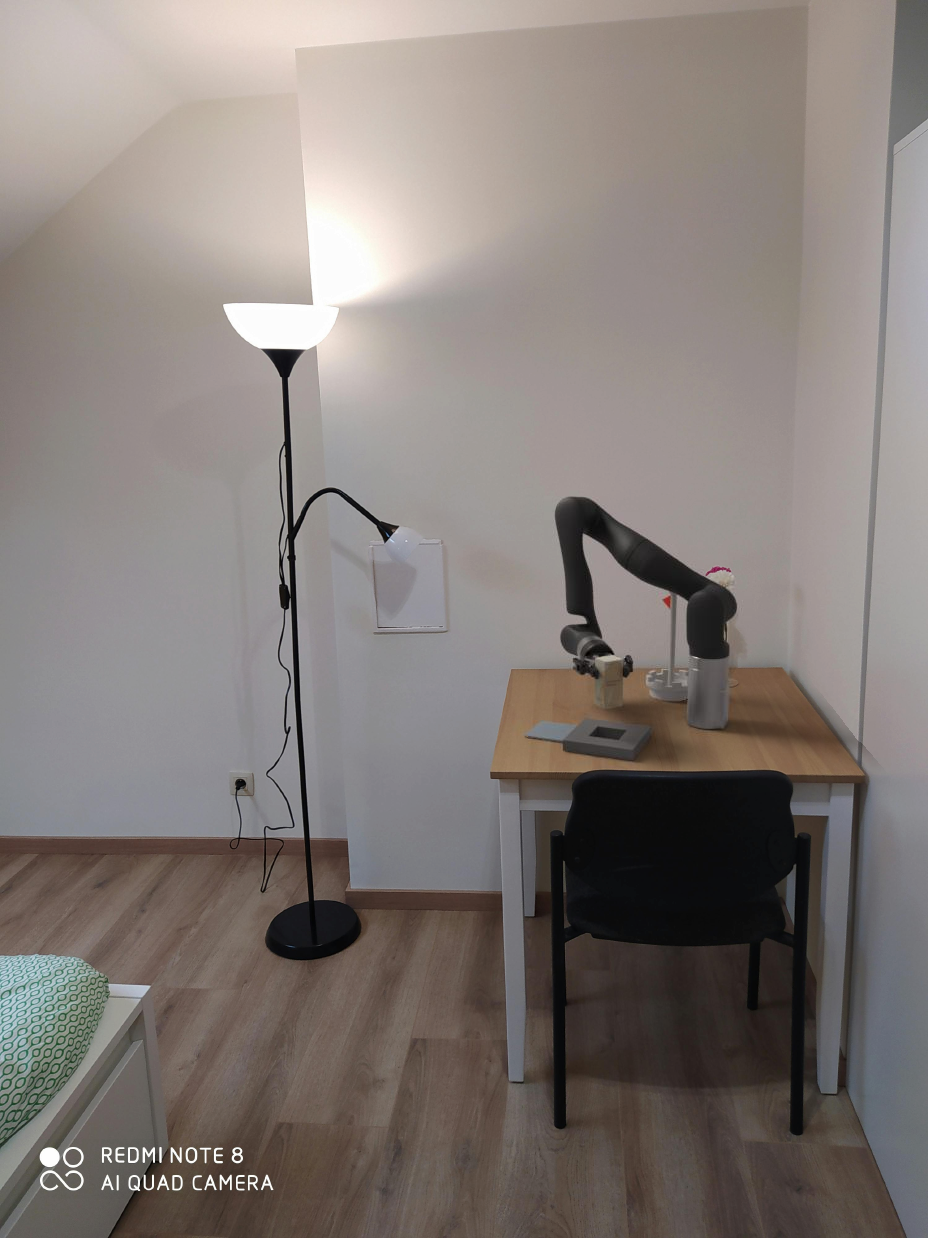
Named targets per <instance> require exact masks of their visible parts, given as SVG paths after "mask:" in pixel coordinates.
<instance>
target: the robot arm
mask: <svg viewBox="0 0 928 1238" xmlns="http://www.w3.org/2000/svg"><path fill="white" fill-rule="evenodd" d="M554 510H555V511H554V520H555V527H556V532H557V537H558V540H559V542H558V543H559V547H560V551H561V559H562V563H563V564H562V565H563V572H564V581H565V603H566V605H565V606H566V607H565V608H566V612H567V613H568V614H569V615H573V616H579V617H583V618H584V619H585V622H586V623H577V624H576V623H574V624H568V625H565V626H564V627H563V628H562V629H561V630H560V637H559V638H560V643H561V646H562V648H563V649H564V650H565V651H566V653H568V654H571V655H573V656H575V657H573V658H572V669H573V670H574V671H575V672H576V673H578V674H579V675H580V676H585V675H586V674H587V675H588V676H590V677H591V678H594V680H595V679H598V678H599V671H598V669H597V667H596V666H595V658H598V657H603V656H611V655H615V656H617V657H619V656H618V655H616V654H615V652H614V650H613V649H612V648H611V646H609V644H608V643H607V642H606V641H605V640H604V639H603V635H602V631H601V628H600V625H599V622H598V619H597V615H596V609H595V604H594V601H595V600H594V584H593V577H592V575H591V574H592V573H591V570H590V568H589V565H588V563H587V560H586V555H585V550H584V542H583V540H584V539H583V538H584V535H585V536H587V537H589V538H591V539H593V540H594V541H596V542H597V543H600V544H601V545H602V546H603V547H604V548H605V549H607V551H608V552H609V553H610V554H611V556H612V558H614V560H615V561H616V562H617V563H618V565H620V566H621V568H623V569H624V570H625V571H627V572H628V573H630V574H631V575H633V576H635V578H637V579H639V581H642V582H644V583H646V584H649V585H651V586H653V587H656V588H659V589H661V590H665V591H667V592H669V591H670V592H673V593H675V594H677V596H679V597H680V598H682V599H683V600H685V601H686V602H687V605H686V616H685V617H686V618H685V619H686V620H685V622H686V625H685V626H686V627H685V628H686V643H687V645H688V648H689V649H688V650H689V652H688V654H689V655H688V671H689V673H688V700H686V701H687V702H686V704H687V705H686V723H687V724H688V725H689V726H691V727H693V728H698V729H703V730H716V729H719V730H720V729H721V730H724V729H725V728H726V726H727V724H728V722H729V708H730V706H729V704H730V686H731V685H730V684H729V668H730V652H731V651H730V650H731V648H730V644H729V642H727V640H725V623H727V622H729V621H730V620H732V619H733V618H734V617H735V615H736V613H737V610H738V602H737V599H736V598H735V596H734V594H733V593H732V592H731V591H730V590H729V589H728V588H726V587H725V586H723V585H721V584H719V583H718V582H716V581H713V580H712V579H709V578H708V577H706V576H704V575H702V574H700V573H698V572H696V571H695V570H694V569H692V568H690V567H689V566H687V564H685V563H684V562H682V561H680V560H679V559H678V558H676V557H675V556H673V555H672V554H671V553H668V551H666V550H665V549H663V548H662V547H661V546H659V545H657V544H656V543H654V542H653V541H651V540H650V539H648V537H645V536H643V535H642V534H640V533H639V532H637V531H635V530H634V529H632V528H630V527H628V526H627V525H625V524H623V523H621V522H620V521H618V520H617V519H616V518H615V517H613V516H612V515H611V514H610V513H608V512H607V511H606V510H605V509H604V508H603V507H601V505H599V504H598V503H596V502H595V501H594V500H592V499H591V498H588V497H585V496H566V497H564V498H562V499H561V500H560V501H558V503H557V504H556V506H555V509H554ZM622 659H623V679H624V678H625V679H626V678H628V677H629V676H630V675H631V674H630V673H633V672H634V661H633V658H632V656H631V655H630V654H626V655H625V656H624V657H623V658H622Z"/></svg>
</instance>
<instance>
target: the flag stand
mask: <svg viewBox="0 0 928 1238" xmlns="http://www.w3.org/2000/svg"><path fill="white" fill-rule="evenodd" d="M668 593H669V594H670V595H668V596H667V597H665V598H662V599H661V600H662V602H663V603H664V604H665V605H666V607H667V608H668V609H669V610H670V612H669V613H670V614H669V616H670V617H669V618H670V619H669V641H668V642H669V645H668V649H669V651H668V668H661V672H659V673H657V671H656V670H655V669H653V670H650V671H648V673H647V674H646V675H645V684H646V685H647V687H649V696H650V695H651V696H652V697H651V696H650V697H651V698H653V697H654V699H655V698H657V699H656V700H658V699H659V701H663V700H664V701H666V702H683V701H682V700H684V701H687V700H686V699H688V674H689V670H683V669H679V670H678V673H677V672H675V667H676V666H675V661H676V631H677V629H676V628H677V604H678V603H677V599H678V595H677V594H675V593H673V592H670V591H668Z"/></svg>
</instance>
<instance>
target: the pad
mask: <svg viewBox="0 0 928 1238" xmlns="http://www.w3.org/2000/svg"><path fill="white" fill-rule="evenodd" d="M577 725H578V724H577ZM577 725H576V724H568V723H563V722H562V723H560V722H553V721H545V720H540V721H539V722H538V723H537V724H536V725H534V726H533V727H532V728H531V729H530V730H529V731H527V733H525V735H524V737H525V736H528V737H533V738H539V739H544V740H543V741H546V740H549V741H548V742H553V741H556V742H555V743H561V744H563V739H564V738H565V737H566V736H567V735H568V734H569V733H570V732H571V731H572V730H573V729H574V728H575V727H576V726H577ZM539 739H538V740H539Z"/></svg>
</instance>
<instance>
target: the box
mask: <svg viewBox="0 0 928 1238" xmlns="http://www.w3.org/2000/svg"><path fill="white" fill-rule="evenodd" d="M617 656H618V655H616V654H615V655H611V656H603V657H598V658H595V666H596V667H597V669H598V671H599V678H598V679H595V678H594V705H596V706H598V707H599V708H602V709H604V710H606V709H614V708H616V707H617V708H618V707H619V708H620V707H622V706H623V705H624V704H623V701H624V699H623V698H624V697H623V696H624V695H623V692H624V677H623V659H624V658H621V657H619V656H618V657H617Z"/></svg>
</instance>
